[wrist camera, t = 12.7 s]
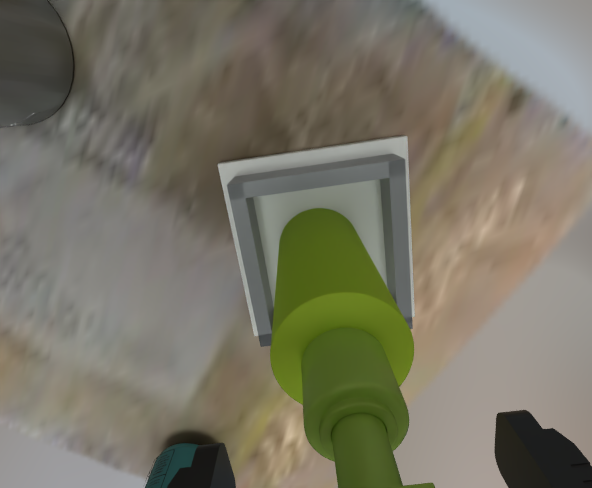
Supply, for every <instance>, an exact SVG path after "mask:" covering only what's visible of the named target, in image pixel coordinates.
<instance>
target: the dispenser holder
mask: <svg viewBox="0 0 592 488" xmlns="http://www.w3.org/2000/svg"><path fill="white" fill-rule="evenodd" d="M218 169H219V174H220V178H221V183H222V187H223V192H224V197H225V201H226V206H227V211H228V215H229V220H230V225H231V229H232V234H233V239H234V243H235V248H236V253H237V257H238V262H239V267H240V271H241V276H242V280H243V285H244V290H245V294H246V299H247V304H248V308H249V313H250V318H251V322H252V327H253V332H254V336H259V341H260V345H261V347H262V346H270V345H271V338H272V326H273V314H274V301H275V289H276V277H277V265H278V252H279V241H280V237H281V234H282V231H283V229H284V228H285V226H286V225H287V223H288V222H289V221H290V220H291V219H292V218H293V217H295V216H296V215H298V214H299V213H301V212H304V211H306V210H310V209H315V208H325V209H330V210H333V211H336V212H338V213H340V214H342V215H343V216H344V217H346V218H347V219H348V220H349V221H350V222H351V224H352V225H353V227H354V228H355V230H356V232H357V234H358V236H359V237H360V239H361V241H362V243H363V245H364V246H365V248H366V250H367V252H368V254H369V255H370V257H371V259H372V261H373V263H374V264H375V266H376V268H377V270H378V272H379V273H380V275H381V277H382V279H383V281H384V282H385V284H386V286H387V288H388V290H389V292H390V293H391V295H392V297H393V299H394V301H395V302H396V304H397V306H398V308H399V310H400V311H401V313H402V315H403V317H404V319H405V320H406V322H407V324H408V326H409V328H410V329H413V328H412V317H415V311H414V287H413V262H412V238H411V213H410V189H409V164H408V140H407V136H405V135H402V136H395V137H388V138H381V139H375V140H368V141H361V142H354V143H348V144H341V145H334V146H327V147H321V148H314V149H307V150H301V151H294V152H287V153H280V154H274V155H267V156H260V157H253V158H247V159H240V160H233V161H226V162H220V163H219V164H218Z"/></svg>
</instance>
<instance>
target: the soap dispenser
mask: <svg viewBox="0 0 592 488" xmlns="http://www.w3.org/2000/svg"><path fill="white" fill-rule="evenodd" d="M413 357H414V342H413V337H412V333H411V331H410V328H409V326H408V324H407V322H406V320H405V319H404V317H403V315H402V313H401V311H400V310H399V308H398V306H397V304H396V302H395V301H394V299H393V297H392V295H391V293H390V292H389V290H388V288H387V286H386V284H385V282H384V281H383V279H382V277H381V275H380V273H379V272H378V270H377V268H376V266H375V264H374V263H373V261H372V259H371V257H370V255H369V254H368V252H367V250H366V248H365V246H364V245H363V243H362V241H361V239H360V237H359V236H358V234H357V232H356V230H355V228H354V227H353V225H352V224H351V222H350V221H349V220H348V219H347V218H346V217H344V216H343V215H342V214H340V213H338V212H336V211H333V210H330V209H325V208H315V209H310V210H306V211H304V212H301V213H299V214H298V215H296V216H295V217H293V218H292V219H291V220H290V221H289V222H288V223H287V225H286V226H285V228H284V229H283V231H282V234H281V237H280V241H279V252H278V265H277V277H276V289H275V301H274V314H273V326H272V338H271V350H270V360H271V366H272V370H273V373H274V376H275V378H276V380H277V382H278V383H279V385H280V386H281V387H282V389H283V390H284V391H285V392H286V393H287V394H288V395H289V396H290V397H292V398H293V399H294V400H296V401H297V402H299V403H301V404H302V405H303V415H304V428H305V433H306V436H307V439H308V441H309V443H310V444H311V446H312V447H313V448H314V449H315V450H316V451H317V452H318V453H319V454H321V455H322V456H324V457H325V458H327V459H329V460H332V461H334V462H335V466H336V474H337V482H338V488H435V486H434V484H433V483H424V484H415V485H407V486H403V485H402V481H401V478H400V474H399V471H398V468H397V464H396V461H395V458H394V455H393V450H395V449H396V448H397V447H398V446H399V445H400V444H401V442H402V441H403V439H404V437H405V436H406V433H407V431H408V427H409V414H408V409H407V406H406V403H405V401H404V398H403V396H402V393H401V391H400V388H399V386H400V385H401V384H402V383H403V381H404V380H405V378H406V377H407V375H408V373H409V371H410V368H411V365H412V362H413Z"/></svg>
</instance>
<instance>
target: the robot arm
mask: <svg viewBox="0 0 592 488" xmlns="http://www.w3.org/2000/svg"><path fill="white" fill-rule="evenodd" d="M72 78H73V57H72V50H71V45H70V42H69V39H68V36H67V33H66V30H65V28H64V26H63V24H62V22H61V20H60V18H59V16H58V15H57V13H56V12H55V10H54V9H53V8H52V6H51V5H50V4H49V2H48V1H47V0H0V128H1V127H12V126H19V125H30V124H34V123H37V122H41V121H43V120H44V119H46V118H48V117H49V116H51V115H53V114H54V113H55V112H56V111H57V110H58V109H59V108H60V106H61V105H62V104H63V102H64V100H65V99H66V97H67V95H68V93H69V90H70V86H71V83H72ZM495 458H496V462H497V465H498V468H499V471H500V473H501V475H502V477H503V478H504V480H505V482H506V484H507V486H508V487H509V488H592V466H591V465H590V462H589V461H588V460H587V459H586V457H585V456H584V455H583V454H582V453H581V451H580V450H579V449H578V448H577V446H576V445H575V444H574V443H572V442H571V441H570V440H568V439H567V438H566V437H564V436H563V435H562V434H560V433H559V432H557V431H556V430H555V429H553V428H551V429H542V428H541V426H540V425H539V424H538V422H537V421H536V420H535V418H534V417H533V416H532V415H531V414H530V413H529V412H528V411H526V410H520V411H511V412H502V413H498V414H497V418H496V434H495ZM167 488H236V486H235V478H234V474H233V471H232V467H231V464H230V460H229V457H228V454H227V450H226V447H225V445H224V443H217V444H208V445H200V446H198V447H197V448H196V451H195V454H194V457H193V461H192V464H191V467H185V468H180V469H179V470H178V472H177V473H176V474H175V476H174V477H173V479H172V480H171V481H170V483H169V484H168V486H167Z"/></svg>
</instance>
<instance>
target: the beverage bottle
mask: <svg viewBox="0 0 592 488" xmlns="http://www.w3.org/2000/svg"><path fill="white" fill-rule="evenodd" d="M198 446H199V445H196V444H189V443H182V444H176V445H173V446H170V447H168V448H167V449H165V450H164V451H163V452H162V453H161V454H160V455H159V456H158V457H157V458H156V459H157V460H156V459H155V460H156V462H155V464H154V466H153V465H152V466H153V469H152V471H151V474H150V472H149V474H150V475H149V479H148V481H147V484H146V486H145V488H167V486H168V484H169V483H170V481H171V480H172V479H173V477H174V476H175V474H176V473H177V472H178V470H179V469H180V468H185V467H191V464H192V461H193V457H194V454H195V451H196V448H197V447H198ZM147 477H148V476H147Z"/></svg>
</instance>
